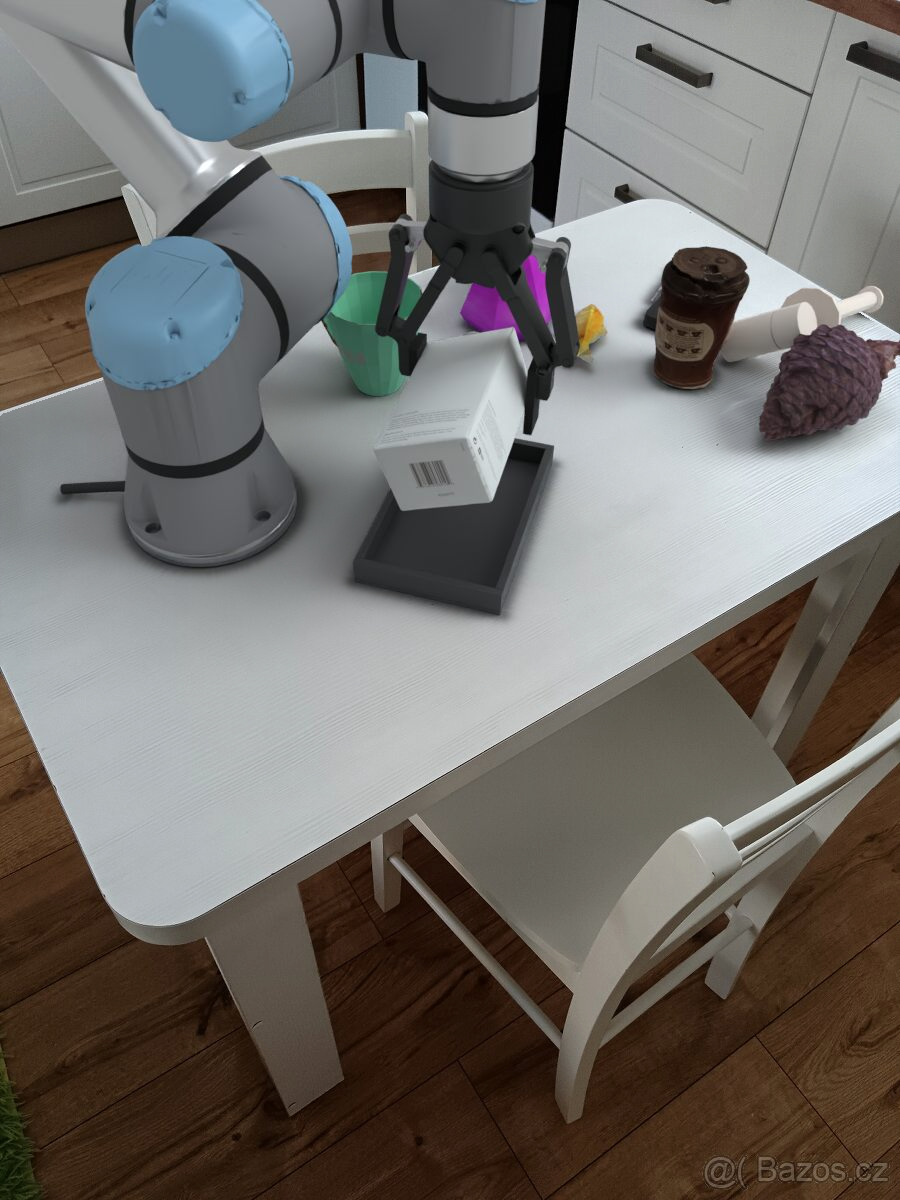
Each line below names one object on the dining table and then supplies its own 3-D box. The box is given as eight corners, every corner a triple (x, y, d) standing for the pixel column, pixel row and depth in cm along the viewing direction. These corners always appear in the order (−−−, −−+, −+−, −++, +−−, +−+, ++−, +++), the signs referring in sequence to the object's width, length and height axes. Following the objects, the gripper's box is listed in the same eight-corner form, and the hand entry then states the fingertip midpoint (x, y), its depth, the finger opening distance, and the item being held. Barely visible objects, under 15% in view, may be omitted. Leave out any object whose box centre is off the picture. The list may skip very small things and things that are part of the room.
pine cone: (799, 489, 91) (794, 407, 84) (725, 448, 98) (716, 369, 91) (929, 392, 95) (936, 306, 88) (849, 359, 102) (849, 276, 95)
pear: (444, 307, 110) (445, 178, 98) (528, 287, 113) (538, 160, 101) (488, 359, 103) (494, 227, 92) (575, 335, 106) (592, 205, 95)
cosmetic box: (493, 504, 72) (539, 390, 82) (465, 433, 68) (517, 322, 78) (396, 512, 76) (452, 402, 86) (364, 445, 72) (427, 338, 82)
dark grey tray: (500, 615, 79) (501, 595, 77) (354, 581, 81) (352, 562, 79) (552, 464, 91) (554, 445, 90) (424, 439, 94) (424, 420, 92)
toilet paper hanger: (823, 355, 94) (810, 286, 92) (725, 377, 102) (711, 314, 100) (905, 321, 107) (895, 260, 105) (813, 343, 115) (802, 287, 114)
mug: (444, 383, 100) (445, 298, 92) (373, 423, 95) (367, 337, 88) (356, 326, 107) (349, 243, 99) (286, 361, 102) (273, 276, 95)
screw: (675, 271, 115) (670, 269, 115) (676, 266, 115) (671, 265, 115) (653, 304, 111) (648, 302, 111) (654, 299, 110) (649, 298, 110)
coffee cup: (698, 408, 97) (727, 294, 88) (627, 379, 101) (648, 265, 91) (735, 369, 102) (767, 256, 92) (667, 342, 105) (690, 230, 96)
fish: (571, 293, 109) (614, 298, 108) (569, 310, 110) (612, 315, 109) (554, 348, 100) (601, 354, 99) (552, 366, 102) (599, 371, 101)
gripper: (645, 156, 67) (606, 412, 84) (352, 119, 71) (370, 369, 88) (628, 204, 63) (589, 465, 79) (315, 161, 67) (341, 417, 84)
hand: (474, 414), depth 84 cm, fingers closed on cosmetic box, 9 cm apart
